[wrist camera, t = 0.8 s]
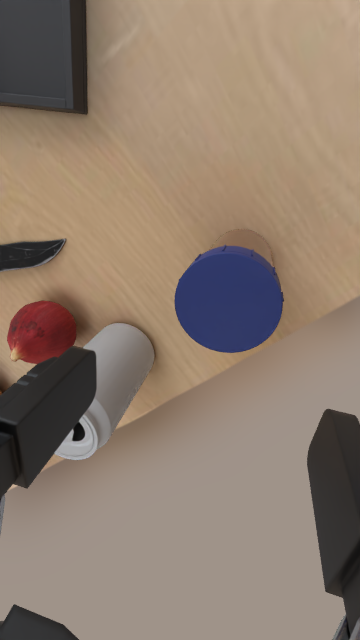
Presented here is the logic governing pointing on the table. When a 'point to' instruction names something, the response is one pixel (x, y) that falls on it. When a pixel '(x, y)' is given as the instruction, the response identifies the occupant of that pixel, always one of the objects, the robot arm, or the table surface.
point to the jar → (245, 242)
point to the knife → (28, 254)
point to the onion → (41, 332)
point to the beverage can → (110, 387)
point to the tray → (43, 55)
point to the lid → (229, 299)
